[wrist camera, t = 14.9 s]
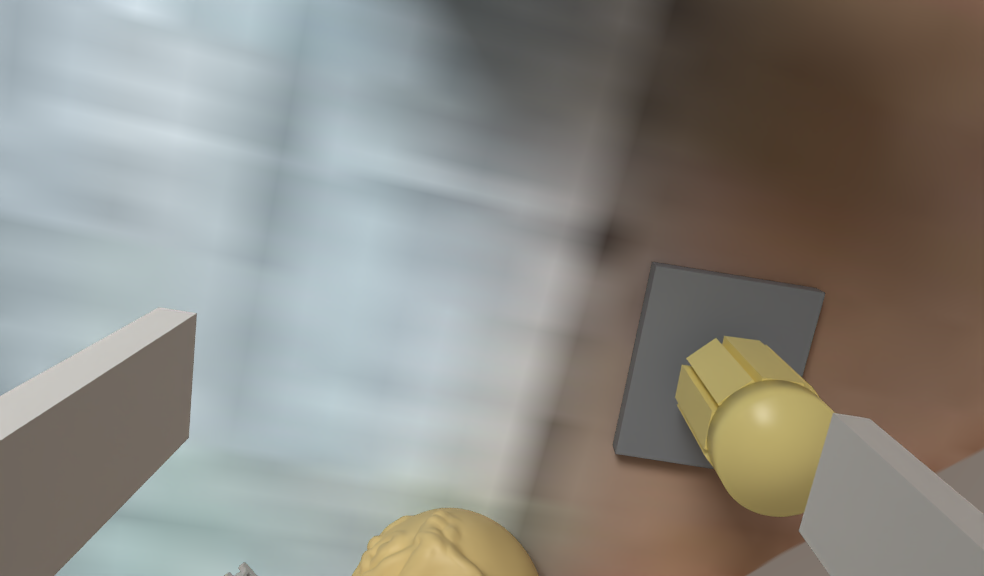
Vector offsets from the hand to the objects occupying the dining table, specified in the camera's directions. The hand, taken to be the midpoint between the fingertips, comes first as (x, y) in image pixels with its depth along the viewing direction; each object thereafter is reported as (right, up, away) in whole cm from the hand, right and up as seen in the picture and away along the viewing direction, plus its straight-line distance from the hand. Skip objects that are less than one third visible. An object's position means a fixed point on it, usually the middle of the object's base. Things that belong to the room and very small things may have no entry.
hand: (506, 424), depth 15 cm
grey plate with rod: (+13, -2, +30) cm, 33 cm away
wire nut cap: (+13, -3, +26) cm, 30 cm away
